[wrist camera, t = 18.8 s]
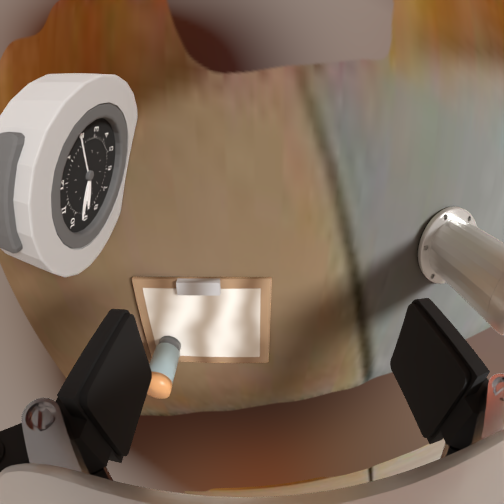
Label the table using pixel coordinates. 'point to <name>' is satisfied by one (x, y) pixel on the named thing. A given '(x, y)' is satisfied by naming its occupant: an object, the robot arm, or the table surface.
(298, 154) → the table surface
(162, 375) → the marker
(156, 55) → the table surface
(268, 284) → the clipboard
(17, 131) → the alarm clock
